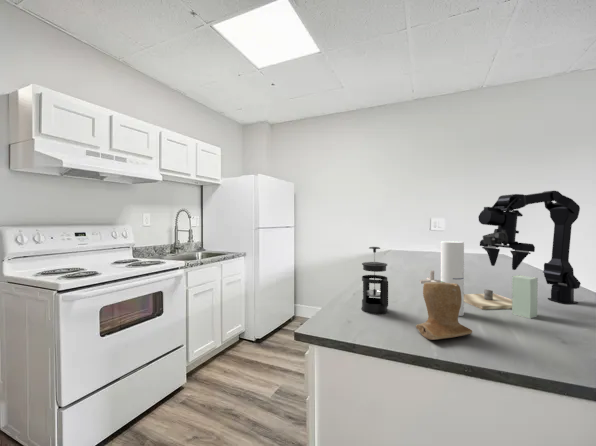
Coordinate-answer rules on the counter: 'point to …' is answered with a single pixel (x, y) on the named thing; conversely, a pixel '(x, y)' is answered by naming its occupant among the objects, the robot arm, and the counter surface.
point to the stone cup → (442, 311)
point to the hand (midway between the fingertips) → (502, 267)
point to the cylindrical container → (453, 266)
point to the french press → (374, 303)
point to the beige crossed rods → (430, 278)
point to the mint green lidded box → (524, 296)
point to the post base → (488, 300)
